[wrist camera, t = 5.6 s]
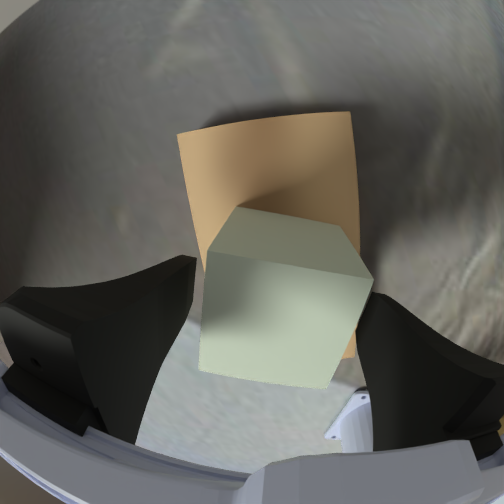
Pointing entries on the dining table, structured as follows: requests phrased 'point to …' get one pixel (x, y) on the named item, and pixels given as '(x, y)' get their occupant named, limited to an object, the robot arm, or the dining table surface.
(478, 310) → the dining table surface
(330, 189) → the tan block
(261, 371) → the sage block
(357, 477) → the robot arm
